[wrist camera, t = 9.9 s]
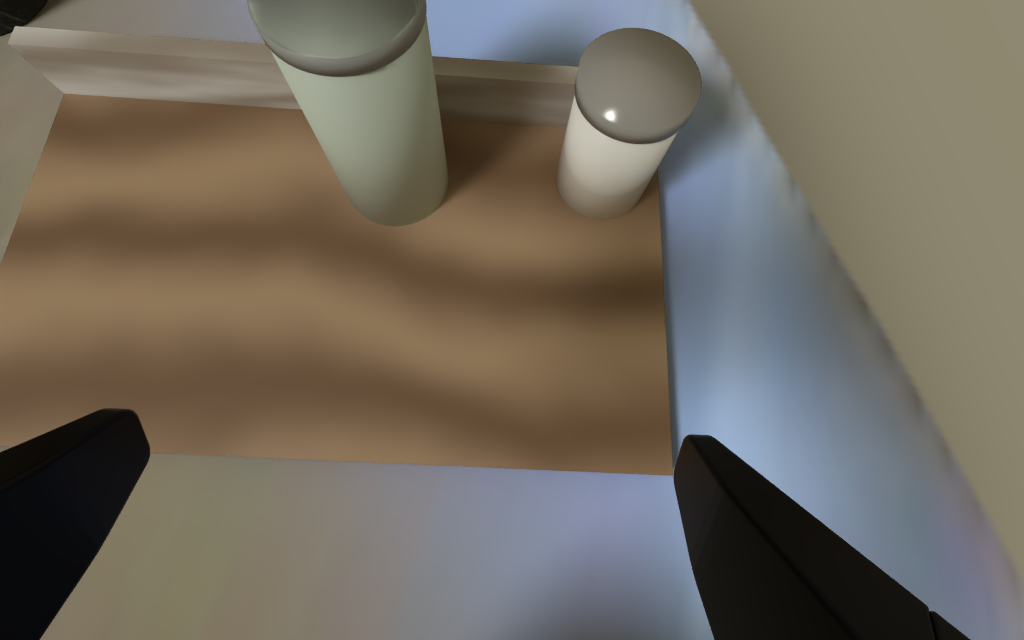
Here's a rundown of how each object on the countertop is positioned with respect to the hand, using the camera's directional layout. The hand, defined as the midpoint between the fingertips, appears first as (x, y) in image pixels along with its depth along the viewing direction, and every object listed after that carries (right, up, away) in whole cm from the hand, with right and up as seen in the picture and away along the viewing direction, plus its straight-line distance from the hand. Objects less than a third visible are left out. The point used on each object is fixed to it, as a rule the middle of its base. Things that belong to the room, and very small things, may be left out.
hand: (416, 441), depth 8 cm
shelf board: (-6, +5, +15) cm, 17 cm away
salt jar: (+6, +9, +16) cm, 20 cm away
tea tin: (-4, +9, +16) cm, 19 cm away
